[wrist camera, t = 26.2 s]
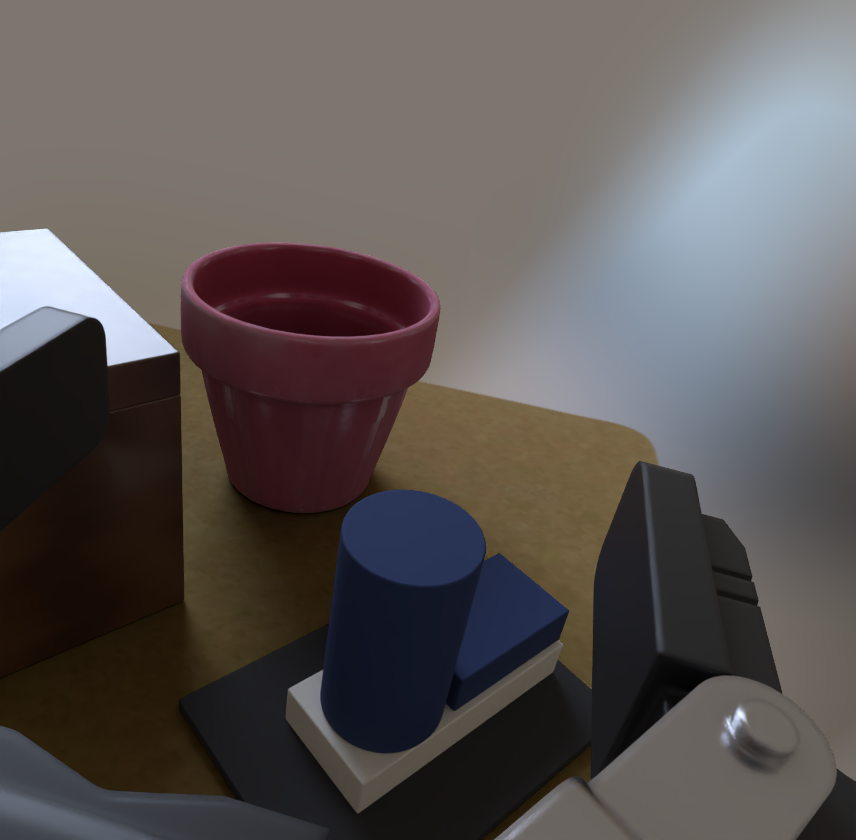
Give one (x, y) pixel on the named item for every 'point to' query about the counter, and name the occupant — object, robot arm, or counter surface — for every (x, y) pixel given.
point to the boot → (417, 643)
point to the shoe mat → (419, 793)
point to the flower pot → (305, 364)
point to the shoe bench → (94, 476)
